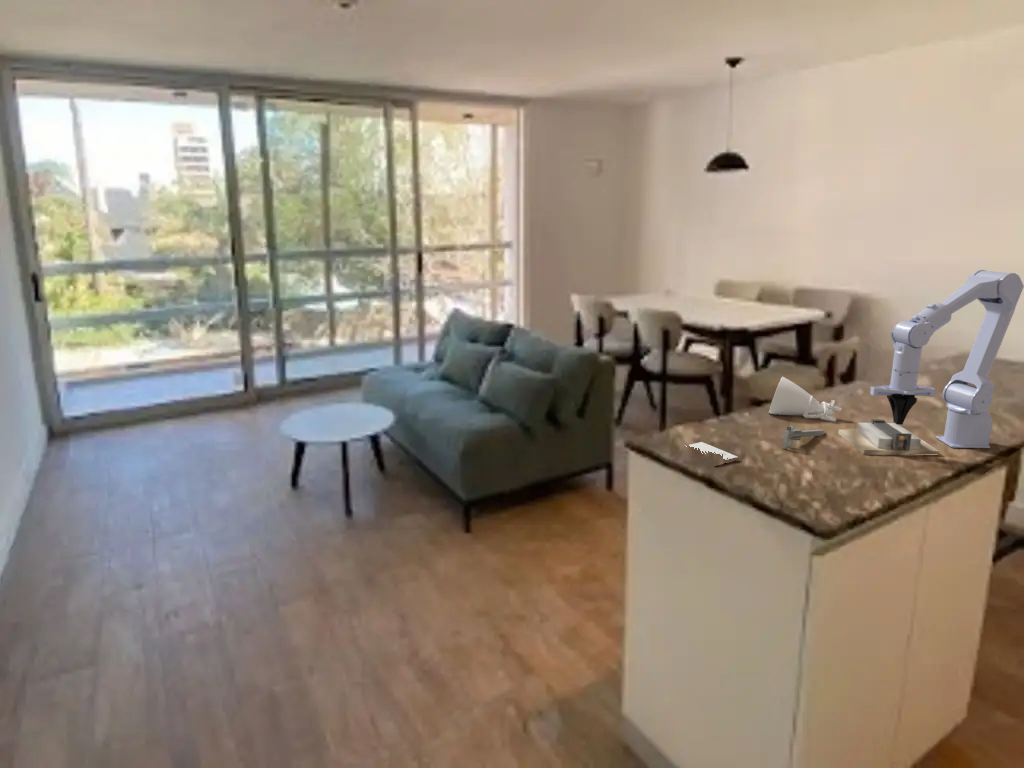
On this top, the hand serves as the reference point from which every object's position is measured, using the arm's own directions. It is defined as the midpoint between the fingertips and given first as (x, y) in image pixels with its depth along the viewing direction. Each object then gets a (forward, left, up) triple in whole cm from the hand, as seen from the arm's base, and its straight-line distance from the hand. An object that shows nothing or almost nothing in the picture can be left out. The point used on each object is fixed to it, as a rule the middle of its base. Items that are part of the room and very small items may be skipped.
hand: (898, 423), depth 173 cm
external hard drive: (+47, +6, -8) cm, 48 cm away
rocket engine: (+14, -27, -8) cm, 31 cm away
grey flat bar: (0, -3, -3) cm, 5 cm away
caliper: (+20, -6, -8) cm, 22 cm away
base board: (0, -4, -7) cm, 8 cm away
